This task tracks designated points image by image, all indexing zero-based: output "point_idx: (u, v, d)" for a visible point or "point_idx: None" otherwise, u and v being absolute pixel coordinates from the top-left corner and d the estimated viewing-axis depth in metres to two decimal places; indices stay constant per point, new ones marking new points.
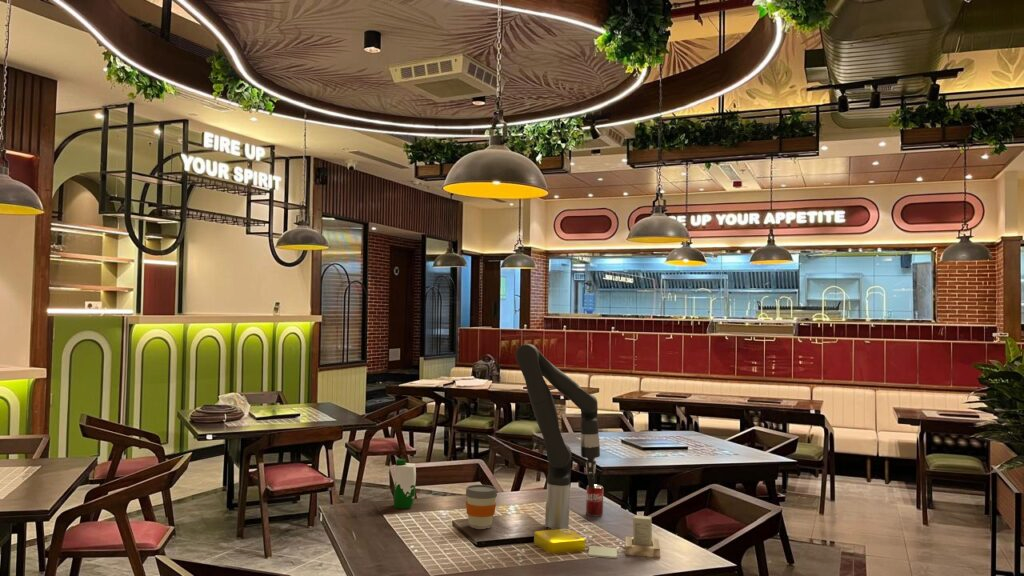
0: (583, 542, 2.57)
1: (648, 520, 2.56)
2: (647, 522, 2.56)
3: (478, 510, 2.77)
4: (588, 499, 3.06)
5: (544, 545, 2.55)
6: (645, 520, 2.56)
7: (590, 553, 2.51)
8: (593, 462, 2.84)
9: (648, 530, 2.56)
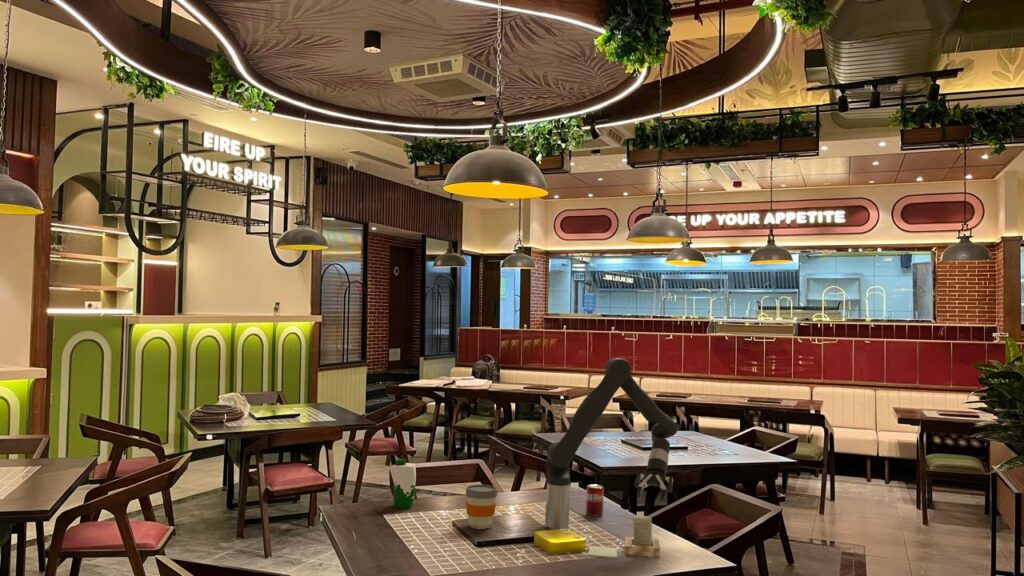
0: (583, 542, 2.57)
1: (648, 520, 2.56)
2: (647, 522, 2.56)
3: (478, 510, 2.77)
4: (588, 499, 3.06)
5: (544, 545, 2.55)
6: (645, 520, 2.56)
7: (590, 553, 2.51)
8: None
9: (648, 530, 2.56)
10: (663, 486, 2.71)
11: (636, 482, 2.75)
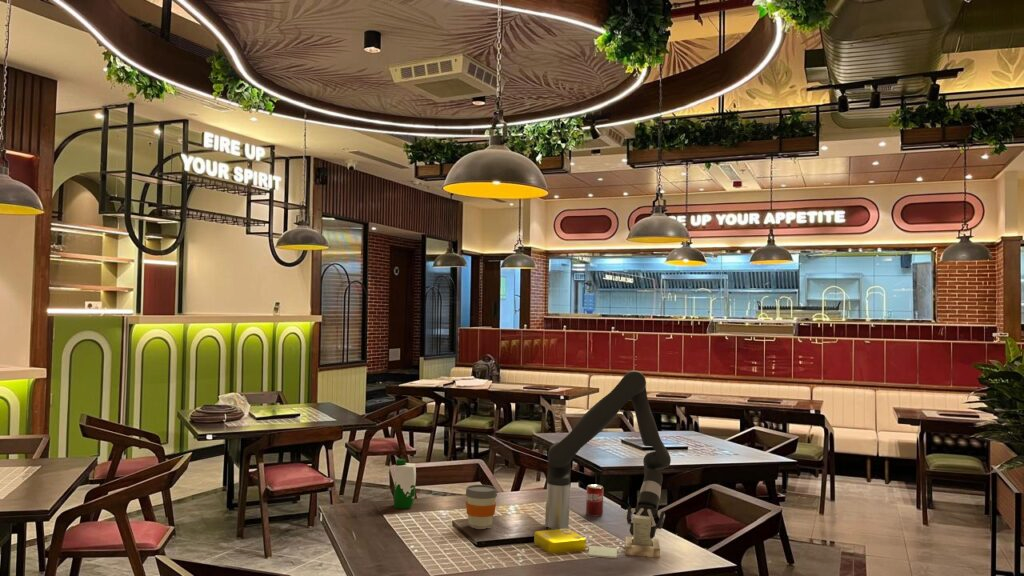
0: (584, 542, 2.57)
1: (648, 520, 2.56)
2: (647, 522, 2.56)
3: (478, 510, 2.77)
4: (588, 499, 3.06)
5: (545, 545, 2.55)
6: (645, 520, 2.56)
7: (590, 553, 2.51)
8: None
9: (648, 530, 2.56)
10: (652, 522, 2.58)
11: (628, 518, 2.62)
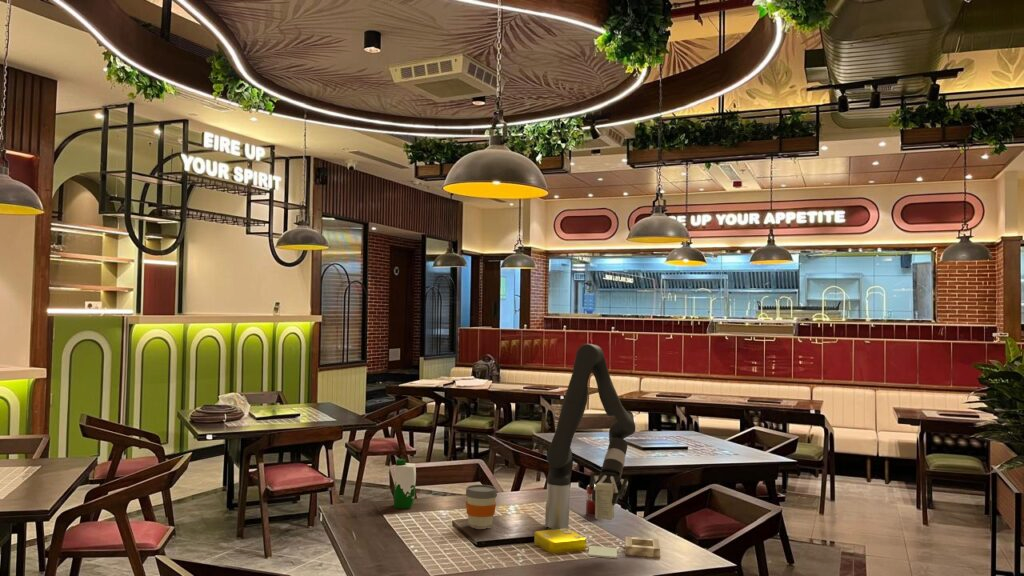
0: (584, 542, 2.57)
1: (610, 486, 2.53)
2: (609, 489, 2.53)
3: (478, 510, 2.77)
4: (588, 499, 3.06)
5: (545, 545, 2.55)
6: (607, 487, 2.54)
7: (590, 553, 2.51)
8: None
9: (610, 497, 2.53)
10: (615, 489, 2.56)
11: (591, 485, 2.59)
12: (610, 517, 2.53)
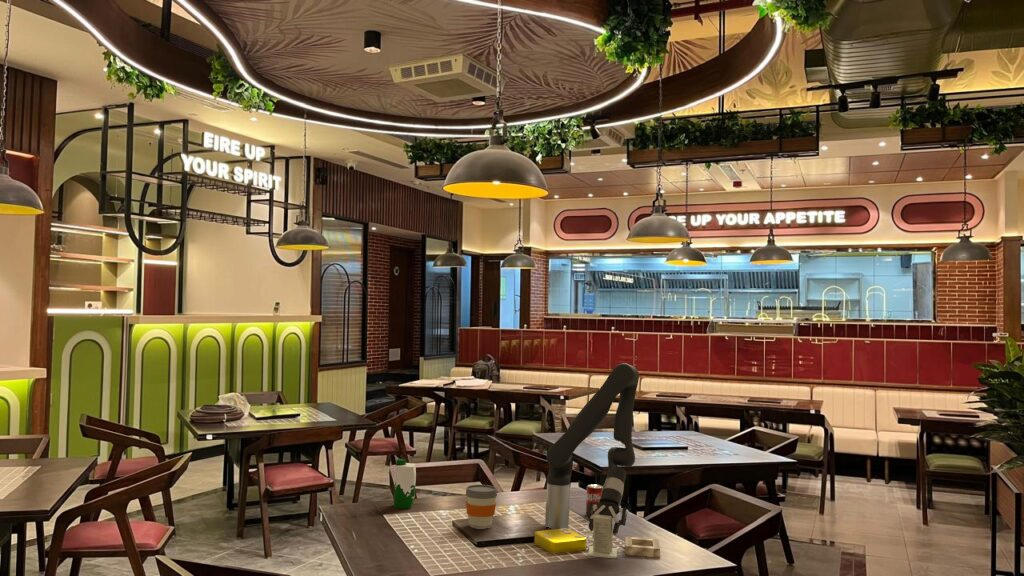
0: (584, 541, 2.57)
1: (608, 519, 2.53)
2: (607, 521, 2.53)
3: (478, 510, 2.77)
4: (588, 499, 3.06)
5: (546, 545, 2.55)
6: (605, 519, 2.53)
7: (590, 553, 2.51)
8: None
9: (608, 530, 2.52)
10: (616, 519, 2.55)
11: (588, 514, 2.59)
12: (608, 550, 2.52)
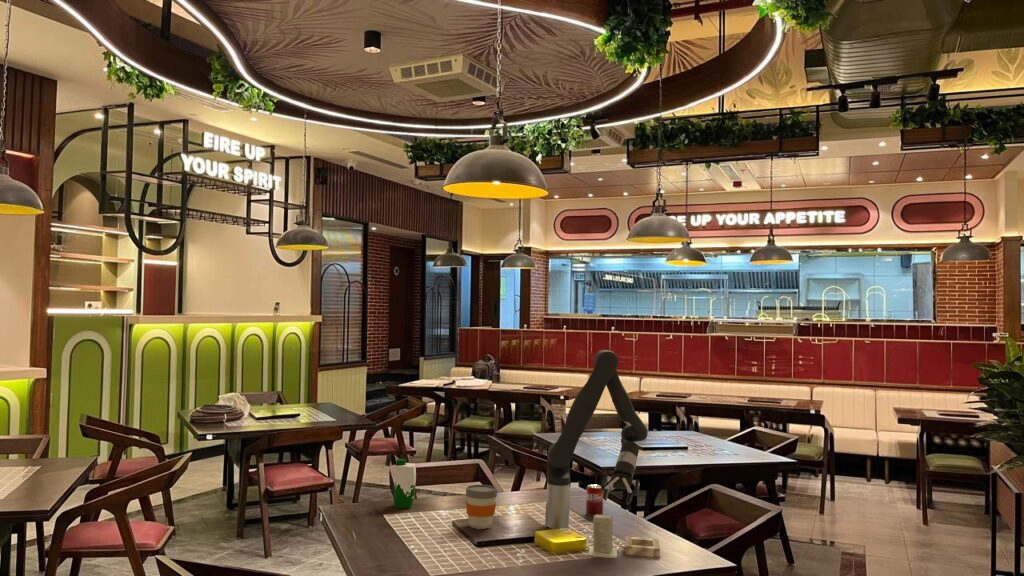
0: (584, 541, 2.58)
1: (608, 519, 2.53)
2: (607, 521, 2.53)
3: (478, 510, 2.77)
4: (588, 499, 3.06)
5: (546, 545, 2.55)
6: (605, 519, 2.53)
7: (590, 553, 2.51)
8: None
9: (608, 530, 2.52)
10: (629, 489, 2.68)
11: (602, 484, 2.73)
12: (608, 550, 2.52)
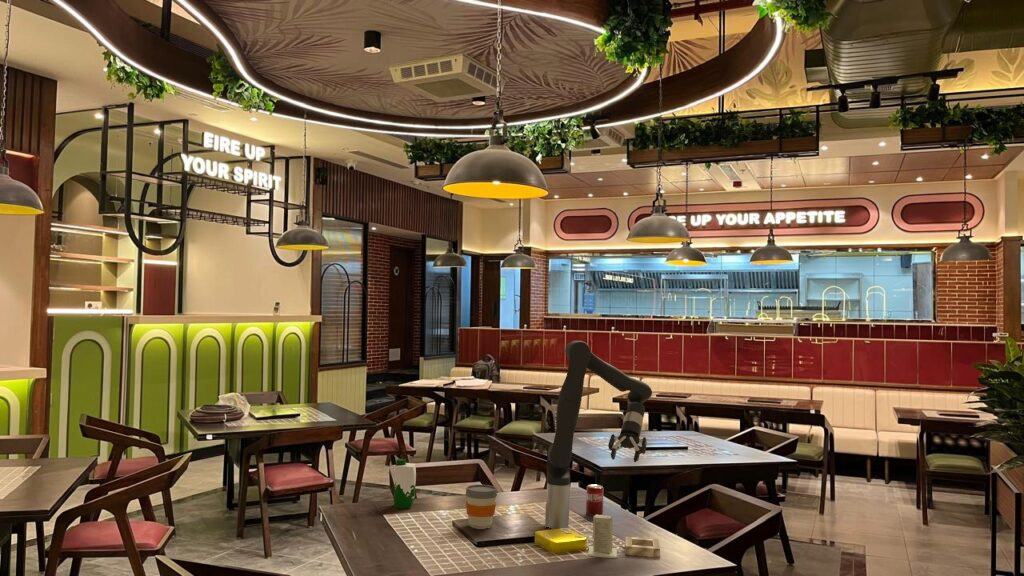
0: (585, 541, 2.58)
1: (608, 519, 2.53)
2: (607, 521, 2.53)
3: (478, 510, 2.77)
4: (588, 499, 3.06)
5: (546, 545, 2.56)
6: (605, 519, 2.53)
7: (590, 553, 2.51)
8: None
9: (608, 530, 2.52)
10: (636, 447, 2.72)
11: (610, 444, 2.76)
12: (608, 550, 2.52)
